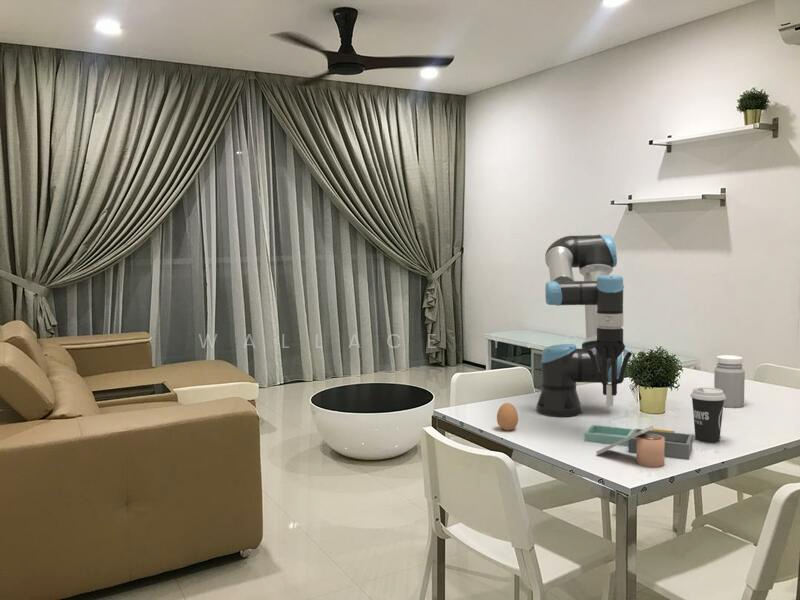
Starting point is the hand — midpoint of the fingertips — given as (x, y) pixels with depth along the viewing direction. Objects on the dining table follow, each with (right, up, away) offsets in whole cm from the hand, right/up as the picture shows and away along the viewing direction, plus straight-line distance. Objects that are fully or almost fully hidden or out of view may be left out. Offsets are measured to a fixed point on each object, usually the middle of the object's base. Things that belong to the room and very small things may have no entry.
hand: (609, 405), depth 199 cm
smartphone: (-5, -12, -13) cm, 18 cm away
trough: (0, -10, +1) cm, 10 cm away
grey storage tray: (+11, -11, -11) cm, 19 cm away
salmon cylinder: (+4, -12, -21) cm, 25 cm away
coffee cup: (+28, -10, -2) cm, 30 cm away
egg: (-28, -10, +13) cm, 33 cm away
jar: (+54, -7, +38) cm, 66 cm away
